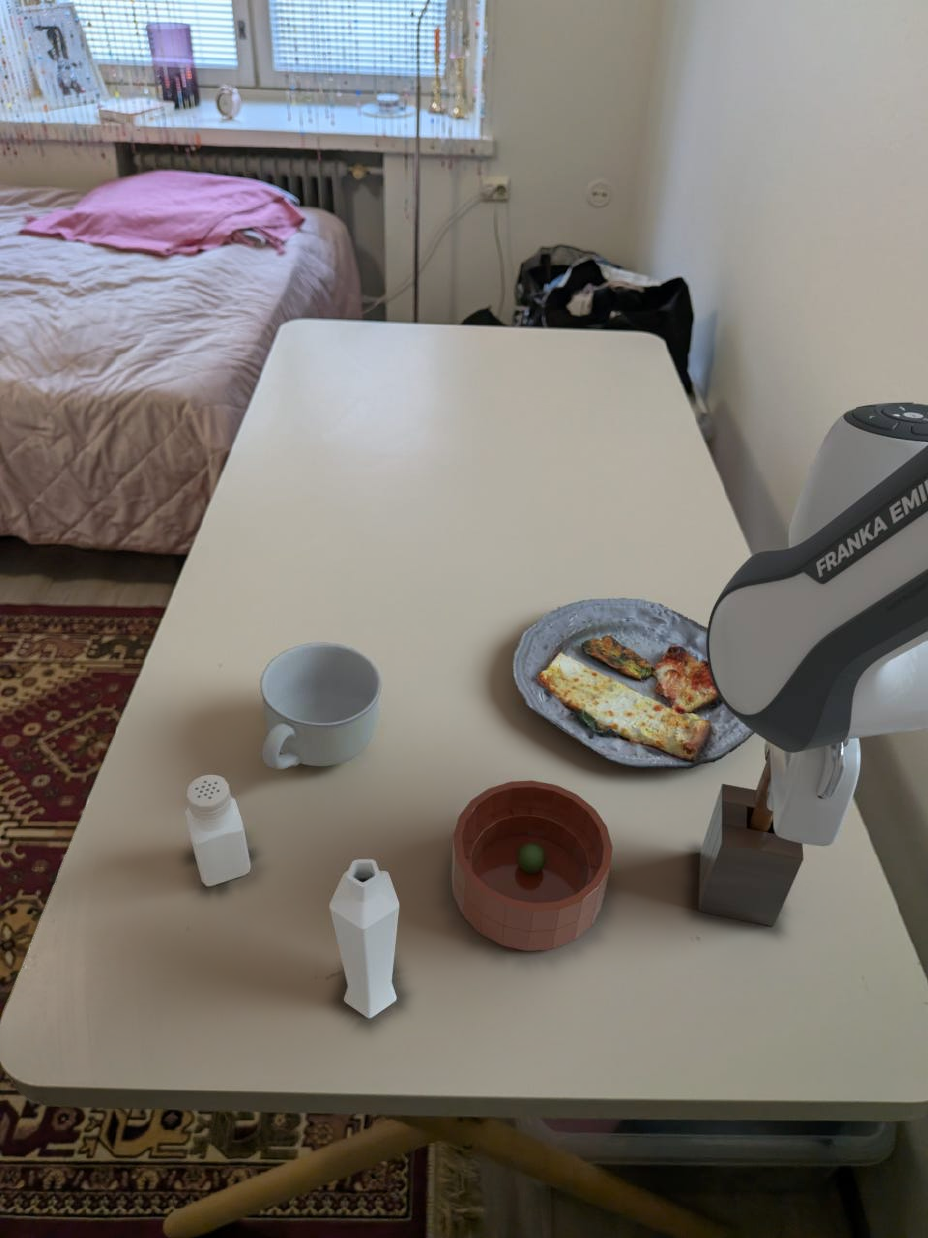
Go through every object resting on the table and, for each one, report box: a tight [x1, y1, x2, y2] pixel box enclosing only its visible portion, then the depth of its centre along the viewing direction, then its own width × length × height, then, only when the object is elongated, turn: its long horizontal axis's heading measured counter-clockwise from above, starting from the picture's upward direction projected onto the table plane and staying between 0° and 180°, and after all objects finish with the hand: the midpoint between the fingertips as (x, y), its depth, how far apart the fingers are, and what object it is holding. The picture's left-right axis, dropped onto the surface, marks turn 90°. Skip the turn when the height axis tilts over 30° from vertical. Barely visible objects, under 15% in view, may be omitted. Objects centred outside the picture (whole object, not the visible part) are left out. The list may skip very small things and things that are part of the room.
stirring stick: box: [747, 753, 773, 833], centre depth 71 cm, size 2×2×18 cm
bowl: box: [451, 780, 614, 952], centre depth 75 cm, size 12×12×6 cm
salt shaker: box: [184, 774, 252, 887], centre depth 74 cm, size 4×4×10 cm
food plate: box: [512, 597, 756, 770], centre depth 94 cm, size 25×23×4 cm
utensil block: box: [698, 783, 805, 927], centre depth 74 cm, size 6×6×9 cm
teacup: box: [259, 641, 382, 770], centre depth 85 cm, size 14×11×8 cm
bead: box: [517, 843, 546, 873], centre depth 77 cm, size 2×2×2 cm
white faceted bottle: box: [329, 858, 400, 1019], centre depth 64 cm, size 5×4×15 cm
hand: (776, 780), depth 68 cm, fingers open, 3 cm apart
